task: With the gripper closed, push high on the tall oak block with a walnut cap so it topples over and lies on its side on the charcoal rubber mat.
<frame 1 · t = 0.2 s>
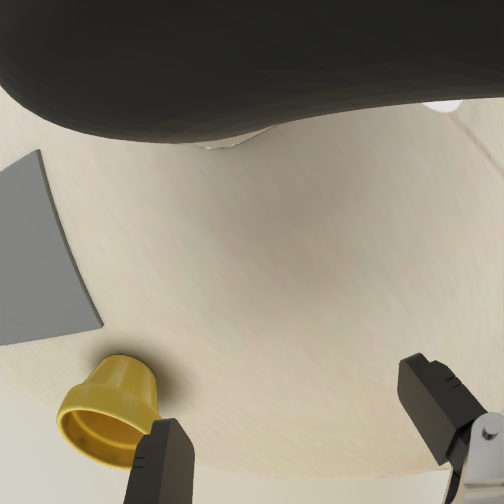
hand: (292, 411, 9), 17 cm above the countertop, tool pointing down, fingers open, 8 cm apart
plant pot: (129, 375, 29), on the countertop
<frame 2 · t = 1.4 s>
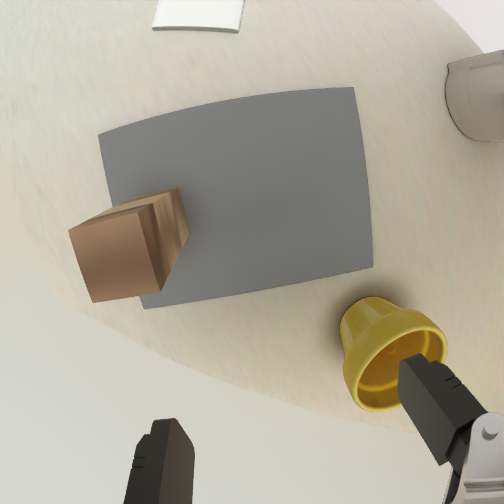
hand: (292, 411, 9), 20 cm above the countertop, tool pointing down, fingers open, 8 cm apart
mat: (241, 198, 27), on the countertop
plant pot: (366, 320, 32), on the countertop
block: (161, 215, 26), point 1 cm above the countertop, touching mat
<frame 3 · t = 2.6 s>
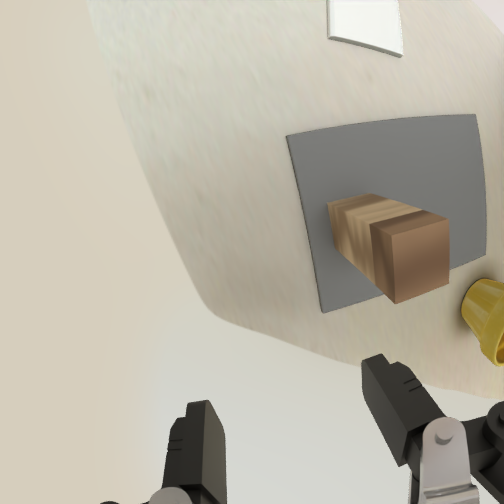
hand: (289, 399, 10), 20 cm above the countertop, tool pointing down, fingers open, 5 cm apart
mat: (411, 203, 28), on the countertop
plant pot: (475, 299, 33), on the countertop
external hard drive: (360, 4, 22), on the countertop
block: (352, 220, 28), point 1 cm above the countertop, touching mat
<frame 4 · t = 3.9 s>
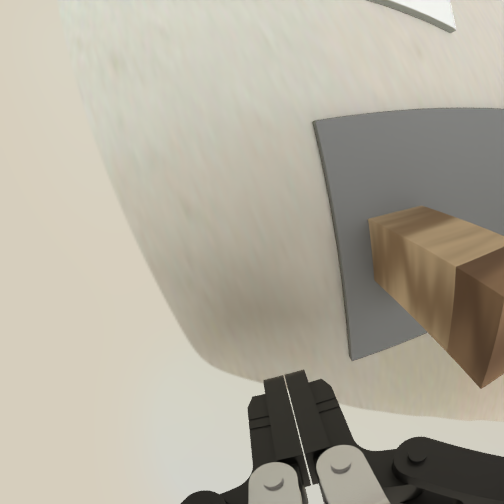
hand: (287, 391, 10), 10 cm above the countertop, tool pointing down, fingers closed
mat: (466, 219, 20), on the countertop
block: (399, 242, 19), point 1 cm above the countertop, touching mat
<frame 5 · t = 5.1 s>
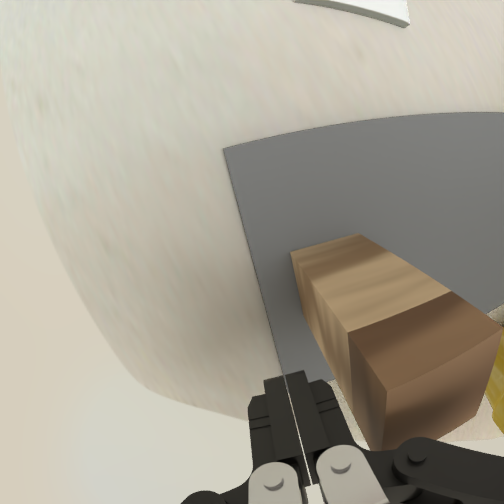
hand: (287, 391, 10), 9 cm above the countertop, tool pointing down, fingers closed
mat: (421, 243, 19), on the countertop
plant pot: (491, 350, 24), on the countertop
block: (330, 275, 19), point 1 cm above the countertop, touching gripper, mat
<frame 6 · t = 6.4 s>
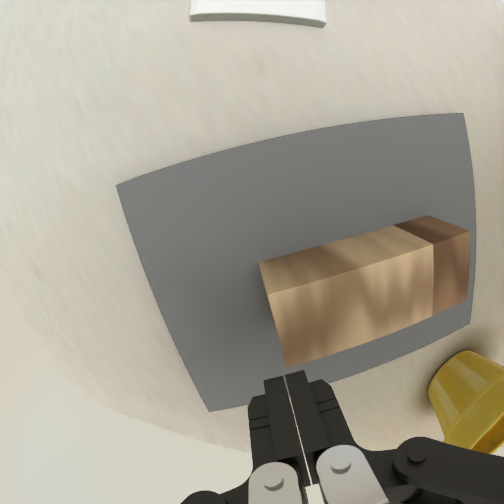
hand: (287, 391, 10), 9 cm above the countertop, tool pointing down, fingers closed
mat: (342, 269, 19), on the countertop
plant pot: (451, 374, 24), on the countertop
block: (271, 312, 16), point 3 cm above the countertop, tilted 90°, touching mat
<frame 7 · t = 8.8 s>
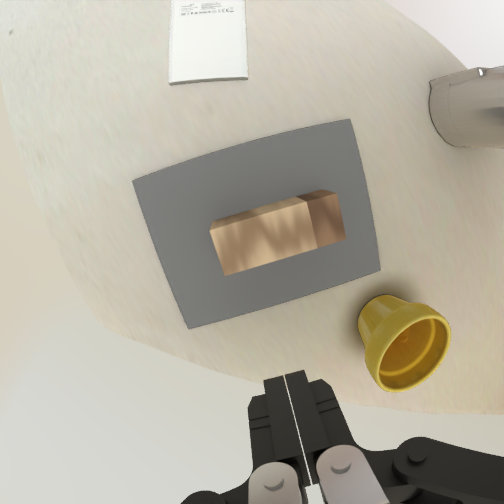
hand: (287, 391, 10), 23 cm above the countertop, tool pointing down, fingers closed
mat: (265, 225, 32), on the countertop
plant pot: (379, 316, 37), on the countertop
external hard drive: (208, 35, 26), on the countertop
block: (218, 247, 29), point 3 cm above the countertop, tilted 90°, touching mat
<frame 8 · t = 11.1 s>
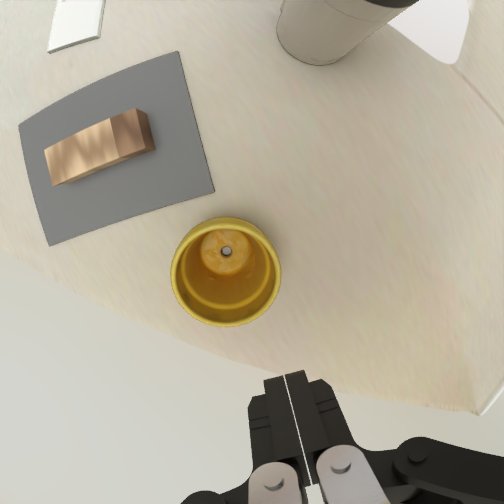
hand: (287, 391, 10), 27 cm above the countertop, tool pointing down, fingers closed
mat: (102, 150, 32), on the countertop
plant pot: (226, 248, 37), on the countertop
external hard drive: (81, 11, 25), on the countertop
block: (57, 166, 29), point 3 cm above the countertop, tilted 90°, touching mat
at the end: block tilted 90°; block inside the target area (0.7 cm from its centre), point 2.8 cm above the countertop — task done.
